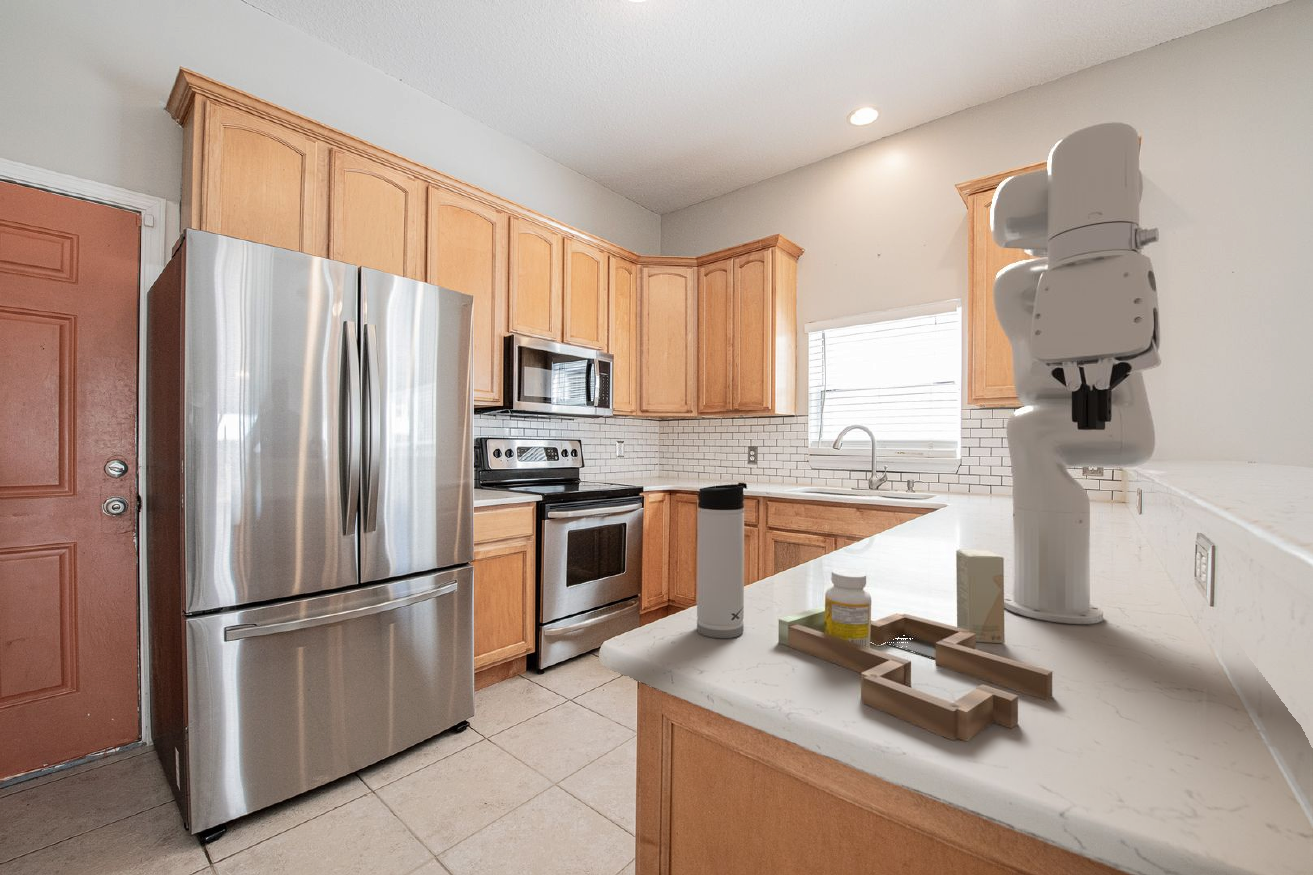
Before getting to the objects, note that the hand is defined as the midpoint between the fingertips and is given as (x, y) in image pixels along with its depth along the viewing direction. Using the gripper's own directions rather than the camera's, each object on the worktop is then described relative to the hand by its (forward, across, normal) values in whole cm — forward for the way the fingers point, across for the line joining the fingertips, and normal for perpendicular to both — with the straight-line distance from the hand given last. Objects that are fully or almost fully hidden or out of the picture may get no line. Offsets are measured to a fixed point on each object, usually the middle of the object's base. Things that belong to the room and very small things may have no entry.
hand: (1091, 429), depth 58 cm
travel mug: (+27, +36, +18) cm, 49 cm away
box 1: (+27, +15, +10) cm, 33 cm away
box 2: (+27, +14, -8) cm, 32 cm away
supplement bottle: (+27, +22, +11) cm, 36 cm away
